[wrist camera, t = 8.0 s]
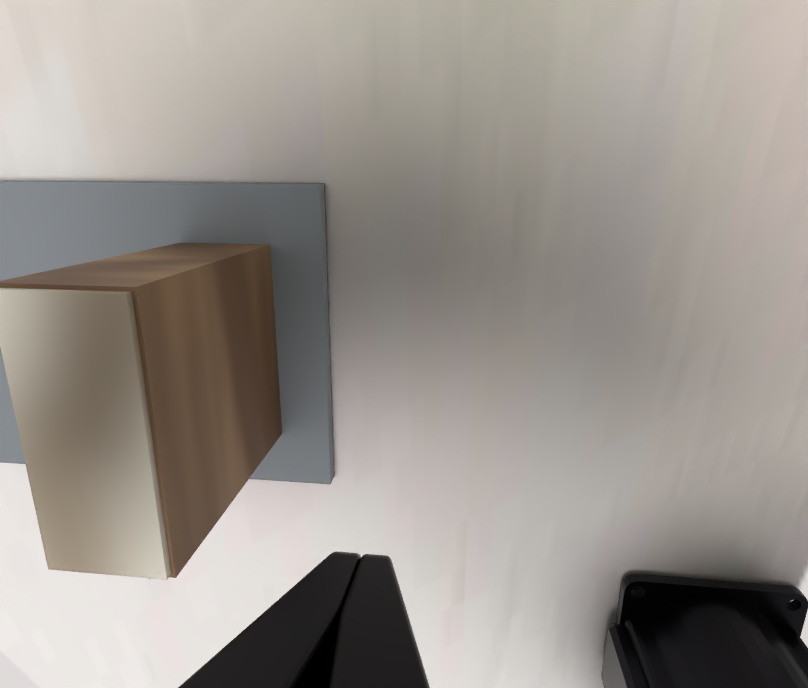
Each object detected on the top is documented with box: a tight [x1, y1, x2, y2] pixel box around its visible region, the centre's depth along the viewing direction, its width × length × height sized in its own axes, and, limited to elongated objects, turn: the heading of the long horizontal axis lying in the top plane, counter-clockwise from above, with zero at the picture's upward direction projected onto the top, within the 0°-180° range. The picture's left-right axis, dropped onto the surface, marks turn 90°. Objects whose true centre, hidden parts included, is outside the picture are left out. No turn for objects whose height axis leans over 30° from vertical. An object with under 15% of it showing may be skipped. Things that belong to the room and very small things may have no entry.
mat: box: [0, 181, 334, 484], centre depth 20 cm, size 14×11×1 cm
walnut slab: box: [0, 243, 282, 580], centre depth 16 cm, size 3×7×8 cm, turn 0°
